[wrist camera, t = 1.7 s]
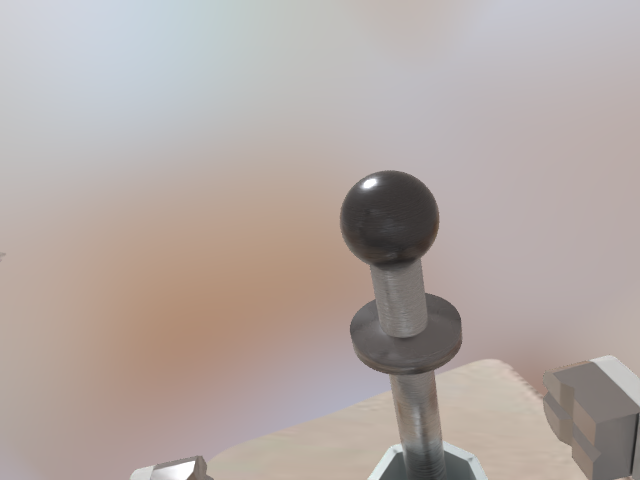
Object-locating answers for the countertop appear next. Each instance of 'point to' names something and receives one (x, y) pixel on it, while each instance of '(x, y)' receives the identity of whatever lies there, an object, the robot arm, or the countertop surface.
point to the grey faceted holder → (460, 465)
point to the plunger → (402, 308)
